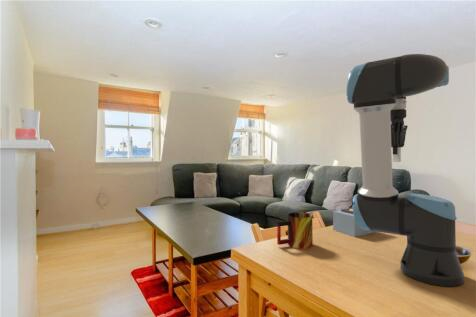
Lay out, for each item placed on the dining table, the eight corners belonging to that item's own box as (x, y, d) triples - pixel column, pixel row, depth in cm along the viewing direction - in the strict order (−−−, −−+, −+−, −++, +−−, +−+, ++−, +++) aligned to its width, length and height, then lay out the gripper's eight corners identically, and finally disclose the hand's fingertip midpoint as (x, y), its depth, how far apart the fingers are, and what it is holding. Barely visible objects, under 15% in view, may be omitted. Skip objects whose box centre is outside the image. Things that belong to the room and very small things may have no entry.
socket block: (354, 237, 113) (354, 214, 113) (333, 230, 124) (333, 209, 124) (375, 232, 119) (375, 210, 119) (353, 226, 130) (353, 206, 130)
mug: (276, 247, 102) (276, 216, 102) (296, 239, 111) (296, 211, 111) (297, 253, 95) (297, 221, 95) (317, 244, 104) (316, 214, 104)
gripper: (395, 107, 112) (396, 162, 112) (413, 109, 117) (413, 161, 118) (379, 110, 118) (379, 162, 119) (397, 112, 124) (397, 161, 124)
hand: (396, 161), depth 118 cm, fingers closed
